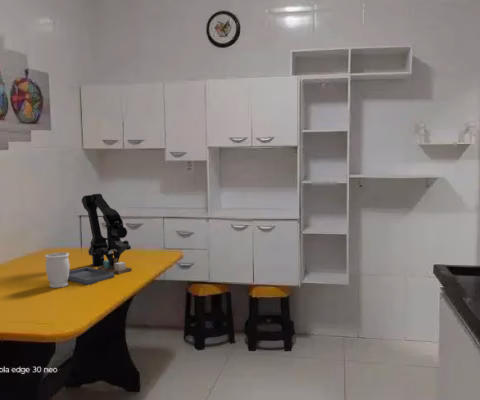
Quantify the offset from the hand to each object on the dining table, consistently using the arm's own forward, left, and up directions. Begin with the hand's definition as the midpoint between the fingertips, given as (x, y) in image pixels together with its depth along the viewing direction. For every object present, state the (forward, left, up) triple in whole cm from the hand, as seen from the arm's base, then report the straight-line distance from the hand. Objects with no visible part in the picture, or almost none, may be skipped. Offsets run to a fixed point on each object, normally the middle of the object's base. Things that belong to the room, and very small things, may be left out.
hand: (114, 265), depth 261 cm
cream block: (+5, 0, -2) cm, 5 cm away
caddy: (0, 0, -3) cm, 3 cm away
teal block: (-4, 0, -2) cm, 5 cm away
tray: (+1, -17, -3) cm, 17 cm away
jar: (+1, -33, -3) cm, 33 cm away
